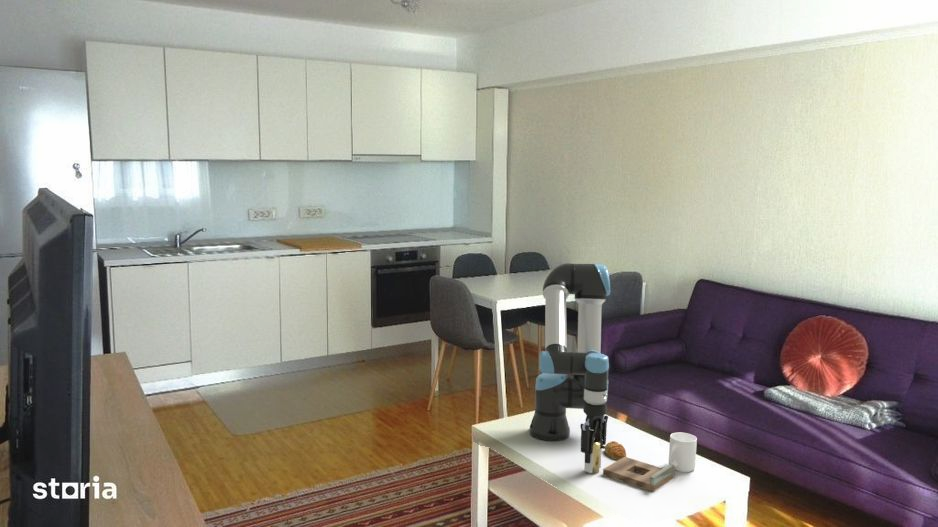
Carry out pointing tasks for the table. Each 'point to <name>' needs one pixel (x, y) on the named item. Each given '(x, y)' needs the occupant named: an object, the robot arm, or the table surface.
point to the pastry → (615, 450)
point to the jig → (649, 480)
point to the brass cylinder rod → (596, 456)
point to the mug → (682, 451)
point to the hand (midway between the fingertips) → (592, 469)
